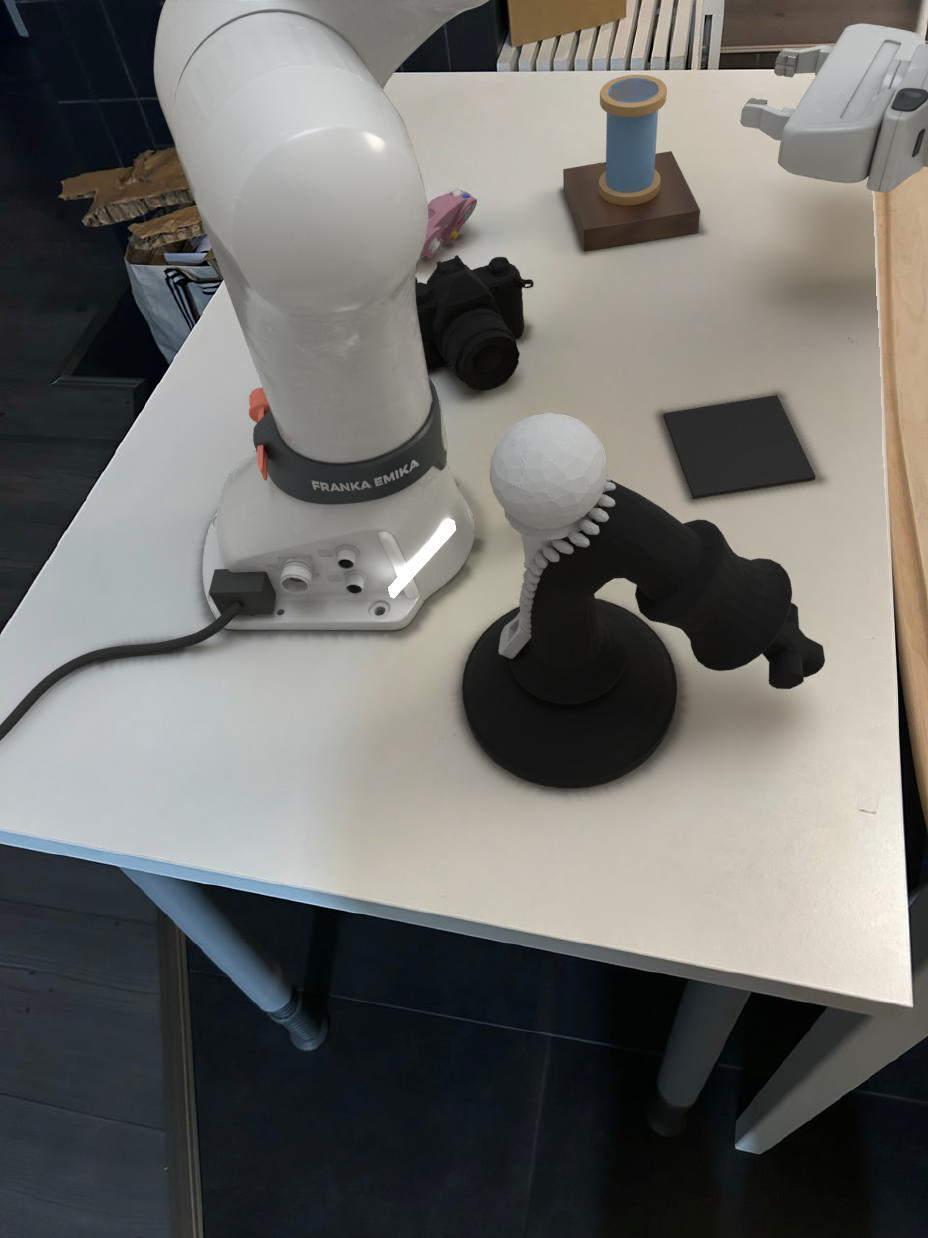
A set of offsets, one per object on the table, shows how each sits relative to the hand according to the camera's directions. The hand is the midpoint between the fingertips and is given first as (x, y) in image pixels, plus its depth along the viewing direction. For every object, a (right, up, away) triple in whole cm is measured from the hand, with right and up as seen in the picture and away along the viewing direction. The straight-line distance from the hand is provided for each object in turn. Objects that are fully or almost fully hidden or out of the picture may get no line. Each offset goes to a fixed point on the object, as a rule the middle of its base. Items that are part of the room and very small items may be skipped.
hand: (760, 85), depth 83 cm
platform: (-9, -4, +16) cm, 19 cm away
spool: (-9, -3, +14) cm, 17 cm away
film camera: (-27, -24, +4) cm, 36 cm away
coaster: (-4, -34, -6) cm, 35 cm away
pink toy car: (-30, -8, +16) cm, 35 cm away
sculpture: (-15, -54, -18) cm, 59 cm away
